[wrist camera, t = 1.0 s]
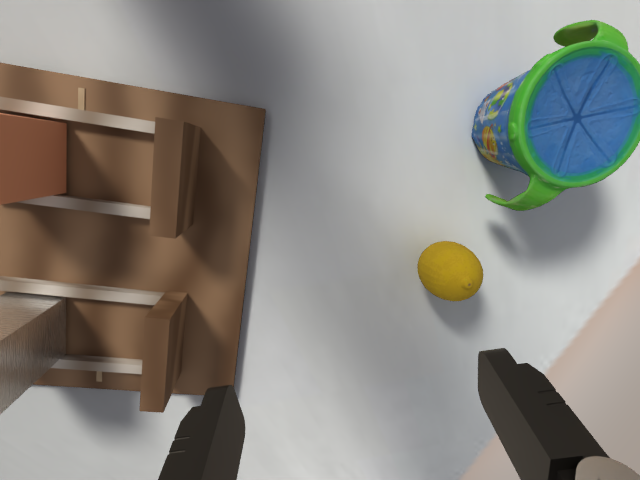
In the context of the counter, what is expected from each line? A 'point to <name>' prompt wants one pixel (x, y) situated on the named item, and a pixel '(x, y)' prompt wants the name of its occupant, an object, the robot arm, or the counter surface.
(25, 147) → the terracotta slider
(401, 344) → the counter surface
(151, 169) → the board
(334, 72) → the counter surface
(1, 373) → the steel slider
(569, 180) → the snack cup
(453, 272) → the lemon
